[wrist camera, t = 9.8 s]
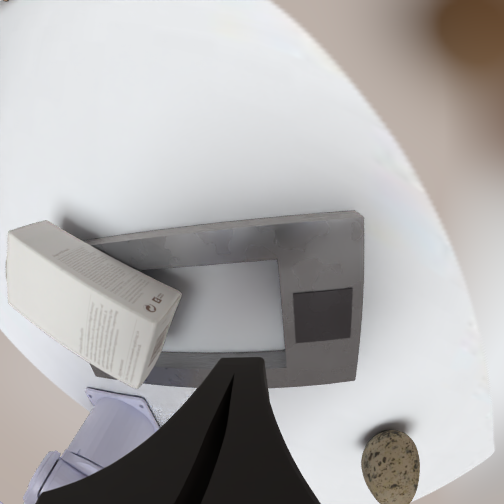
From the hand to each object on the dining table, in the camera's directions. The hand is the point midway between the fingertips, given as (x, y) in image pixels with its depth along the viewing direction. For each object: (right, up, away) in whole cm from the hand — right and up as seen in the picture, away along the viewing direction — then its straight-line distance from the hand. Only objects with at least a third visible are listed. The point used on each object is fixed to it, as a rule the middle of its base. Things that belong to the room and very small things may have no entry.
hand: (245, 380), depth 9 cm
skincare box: (-5, -2, +7) cm, 9 cm away
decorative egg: (+14, -16, +15) cm, 26 cm away
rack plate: (-4, 0, +11) cm, 12 cm away
